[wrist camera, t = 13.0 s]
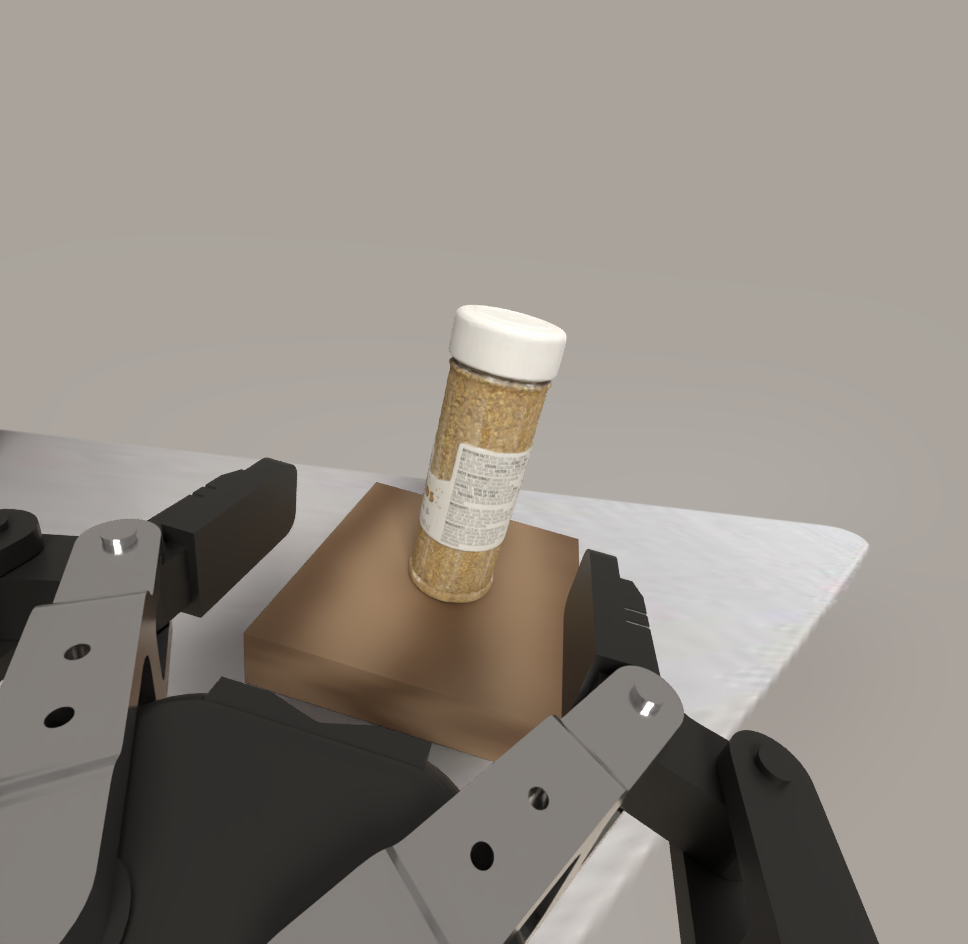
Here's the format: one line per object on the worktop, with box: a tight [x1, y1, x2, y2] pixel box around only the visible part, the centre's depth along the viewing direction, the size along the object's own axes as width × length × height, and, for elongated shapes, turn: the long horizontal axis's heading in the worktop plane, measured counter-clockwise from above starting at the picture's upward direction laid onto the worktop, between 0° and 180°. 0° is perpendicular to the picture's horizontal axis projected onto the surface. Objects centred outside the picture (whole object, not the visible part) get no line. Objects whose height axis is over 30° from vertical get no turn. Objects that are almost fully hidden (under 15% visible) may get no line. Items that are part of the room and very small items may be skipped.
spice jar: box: [409, 305, 567, 603], centre depth 21 cm, size 5×5×13 cm
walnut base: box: [244, 482, 579, 762], centre depth 25 cm, size 14×14×3 cm
